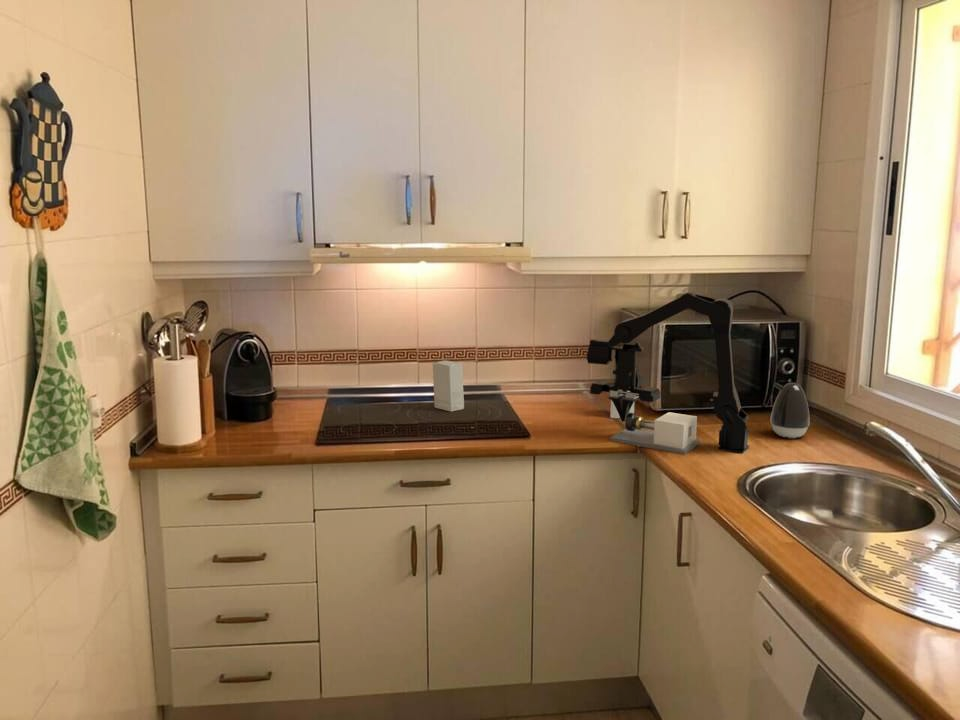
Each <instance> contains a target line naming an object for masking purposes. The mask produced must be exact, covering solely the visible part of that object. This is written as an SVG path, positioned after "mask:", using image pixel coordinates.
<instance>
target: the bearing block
mask: <svg viewBox="0 0 960 720" xmlns="http://www.w3.org/2000/svg"><path fill="white" fill-rule="evenodd" d="M654 421H655V426H654V430H649V429H643V428H642V429H641V430H637V429H635V431H628V430H626V428H624V429H623V430H621V431H619V432H617V433H615V434H614V435H612V436H610V439H609V441H610V442H614V443H622V444H627V445H631V446H638V447H644V448H648V449H654V450H660V451H665V452H670V453H676V454H681V455H686V454H688V453H689V452H690V451H692V450H693V449H695V448H696V447H697V446H698V445H700V444H701V439H699V438H697V427H698V425H697V424H698V422H697V421H698V416H697V415H689V414H682V413H676V412H670V411H668V412H667V413H665V414H663V415H661V416H660V417H658V418H656V419H655V420H654Z"/></svg>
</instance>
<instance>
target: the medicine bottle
mask: <svg viewBox="0 0 960 720" xmlns="http://www.w3.org/2000/svg"><path fill="white" fill-rule="evenodd" d="M614 382H615V378H614V379H613V383H614ZM620 391H622V390H620ZM627 392H630V391H627ZM635 411H636V401H634V403H633V405H632V406H631V409H630V411H629V413H635ZM609 415H610V419H619V418H620V416H619V414H618V411H617V409H616V407H615V405H614V403H613V402H612V400H611V399H610V413H609Z"/></svg>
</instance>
